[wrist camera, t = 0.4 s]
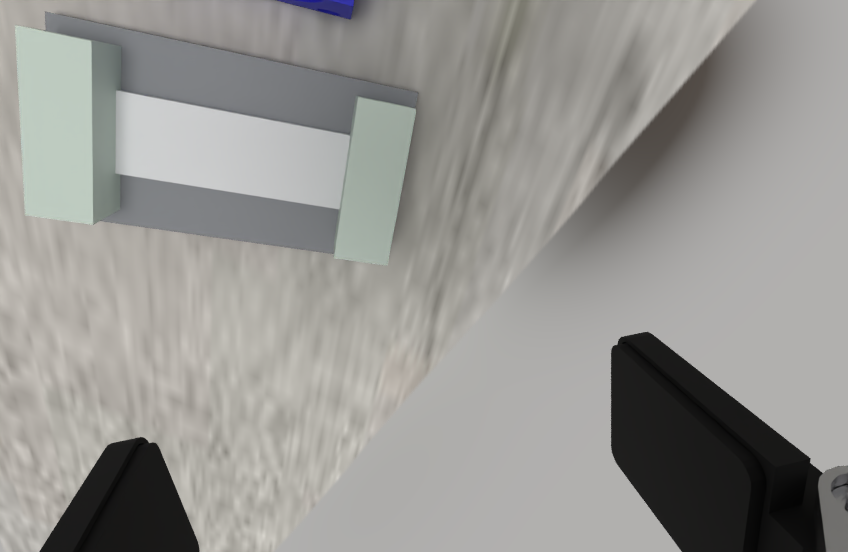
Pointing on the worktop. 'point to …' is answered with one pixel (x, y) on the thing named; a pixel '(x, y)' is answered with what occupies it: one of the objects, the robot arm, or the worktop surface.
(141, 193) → the board
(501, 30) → the worktop surface
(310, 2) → the cable clip
